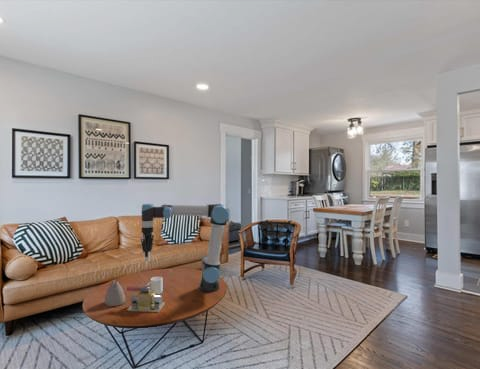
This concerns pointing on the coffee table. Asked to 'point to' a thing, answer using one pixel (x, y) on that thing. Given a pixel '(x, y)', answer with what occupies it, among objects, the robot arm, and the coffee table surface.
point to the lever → (138, 288)
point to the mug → (156, 284)
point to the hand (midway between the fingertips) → (147, 261)
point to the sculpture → (114, 295)
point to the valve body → (146, 302)
